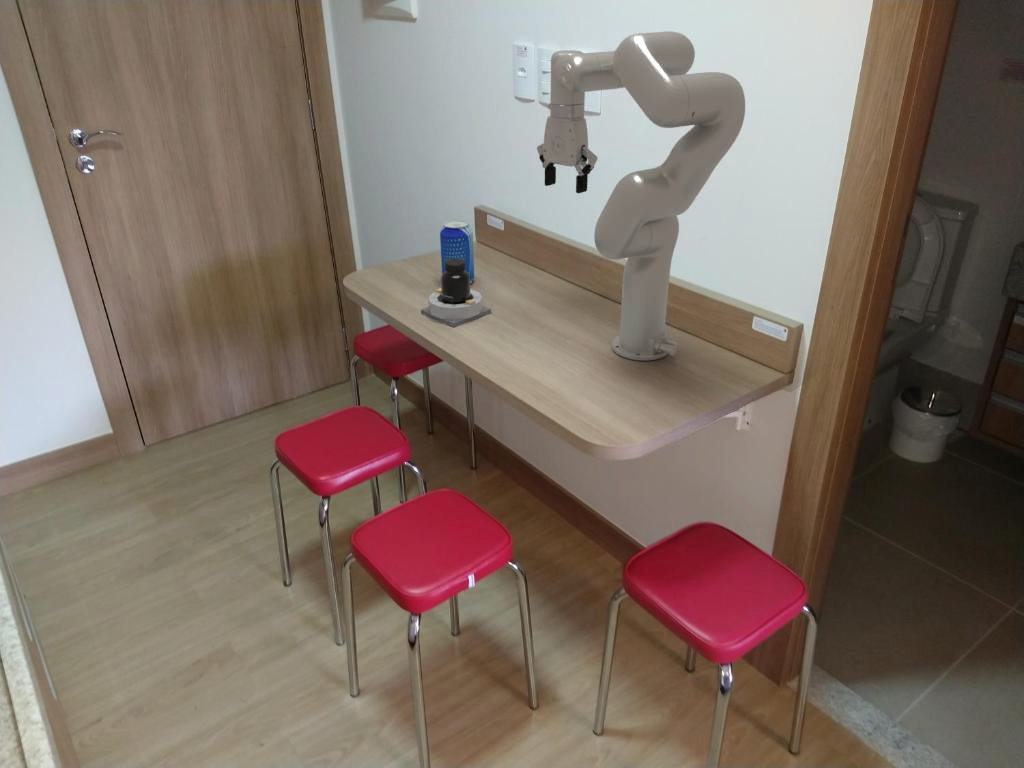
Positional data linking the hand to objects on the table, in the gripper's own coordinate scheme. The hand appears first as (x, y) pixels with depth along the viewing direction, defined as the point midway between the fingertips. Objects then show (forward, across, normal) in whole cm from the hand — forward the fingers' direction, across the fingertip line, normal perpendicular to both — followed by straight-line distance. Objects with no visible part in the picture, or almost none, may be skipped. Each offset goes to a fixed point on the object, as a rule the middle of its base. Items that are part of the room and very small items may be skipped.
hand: (565, 188), depth 183 cm
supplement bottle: (+28, -14, -23) cm, 38 cm away
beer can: (+28, -29, -9) cm, 42 cm away
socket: (+28, -14, -23) cm, 39 cm away
